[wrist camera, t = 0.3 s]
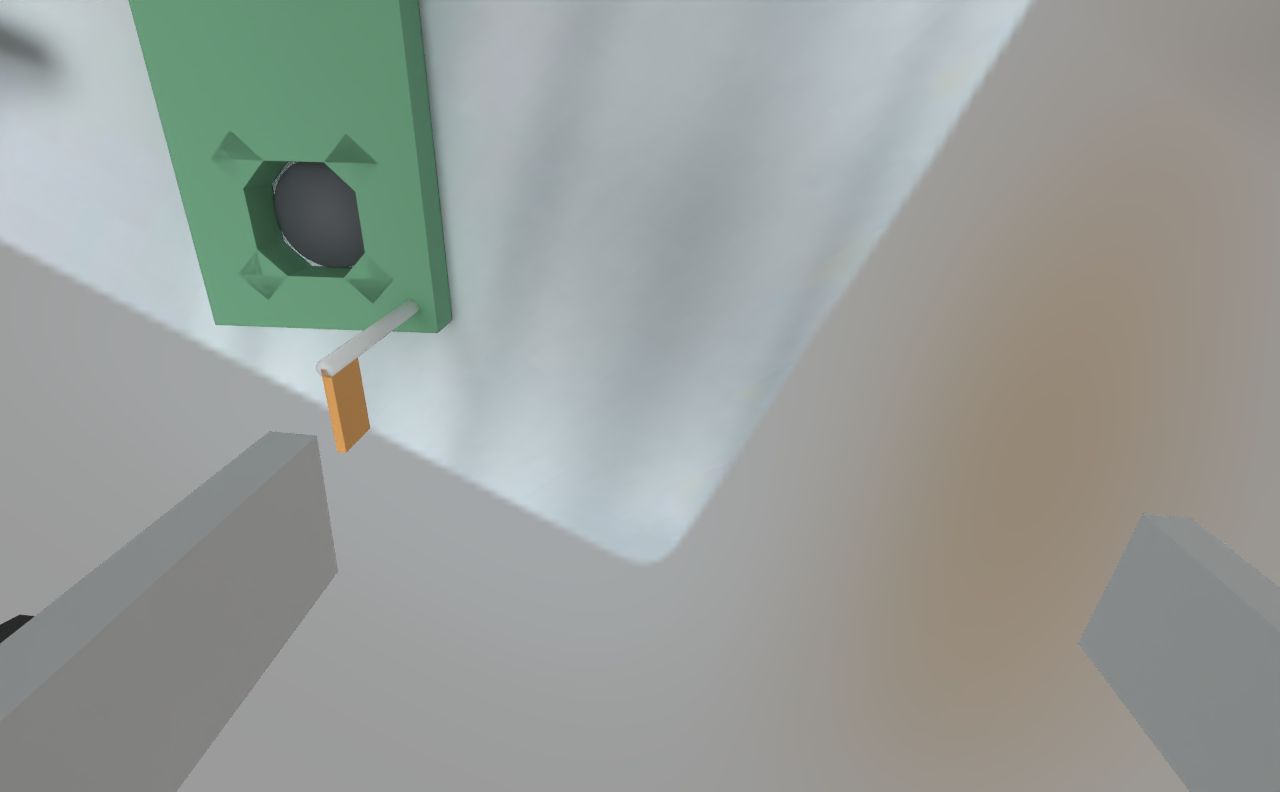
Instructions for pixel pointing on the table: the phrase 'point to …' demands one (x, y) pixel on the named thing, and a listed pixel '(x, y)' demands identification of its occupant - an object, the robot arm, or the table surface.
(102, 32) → the table surface
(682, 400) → the table surface
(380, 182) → the green
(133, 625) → the robot arm
